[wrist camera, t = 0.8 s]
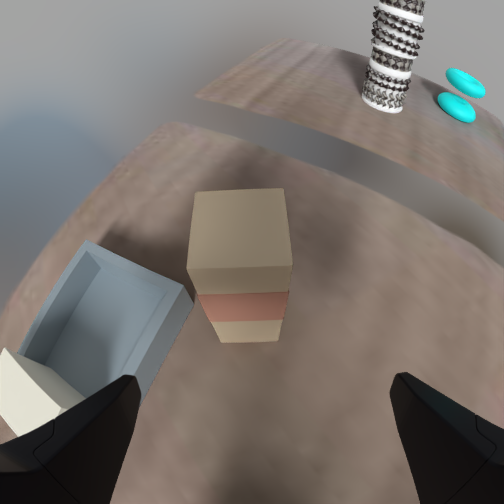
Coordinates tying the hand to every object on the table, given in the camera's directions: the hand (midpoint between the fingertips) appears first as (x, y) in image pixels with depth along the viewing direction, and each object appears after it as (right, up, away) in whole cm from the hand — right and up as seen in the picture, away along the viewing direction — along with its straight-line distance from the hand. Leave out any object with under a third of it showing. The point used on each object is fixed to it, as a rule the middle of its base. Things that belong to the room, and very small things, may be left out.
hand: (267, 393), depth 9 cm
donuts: (+45, +36, +39) cm, 70 cm away
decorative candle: (+24, +33, +38) cm, 56 cm away
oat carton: (-1, -1, +17) cm, 17 cm away
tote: (-15, -6, +14) cm, 21 cm away
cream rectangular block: (-17, -10, +11) cm, 23 cm away
